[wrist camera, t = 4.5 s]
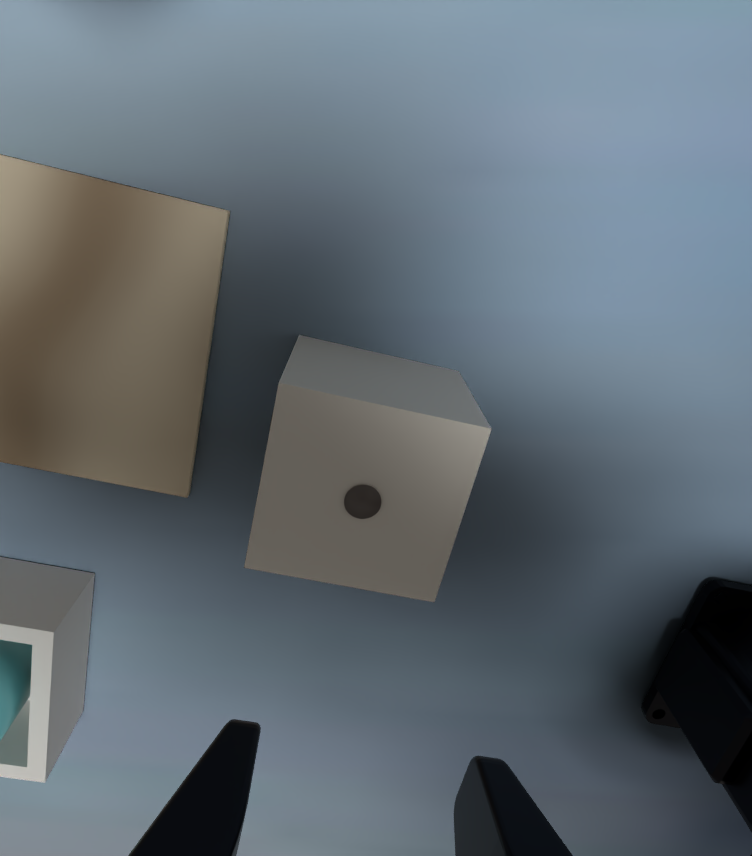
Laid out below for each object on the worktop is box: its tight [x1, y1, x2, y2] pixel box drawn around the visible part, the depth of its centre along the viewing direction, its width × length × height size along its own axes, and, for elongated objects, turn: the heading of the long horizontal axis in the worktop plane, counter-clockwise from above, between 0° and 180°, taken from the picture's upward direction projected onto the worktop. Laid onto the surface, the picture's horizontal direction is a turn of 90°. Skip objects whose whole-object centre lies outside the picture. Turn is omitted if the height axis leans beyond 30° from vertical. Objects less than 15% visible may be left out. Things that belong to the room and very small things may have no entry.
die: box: [244, 335, 491, 602], centre depth 17 cm, size 5×5×5 cm
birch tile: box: [0, 154, 230, 498], centre depth 17 cm, size 9×9×1 cm
